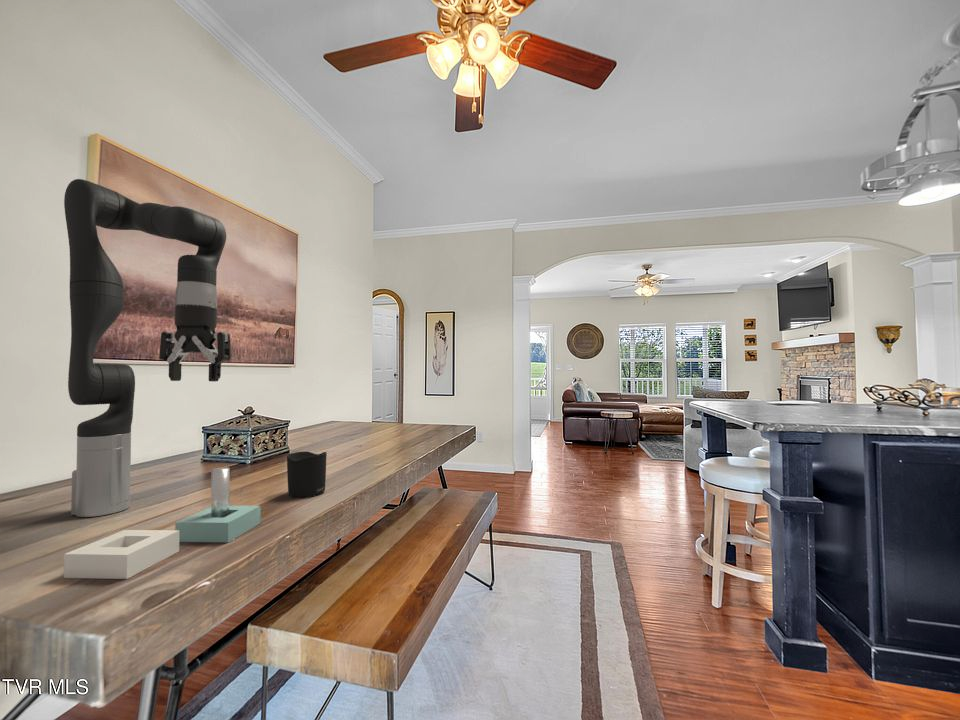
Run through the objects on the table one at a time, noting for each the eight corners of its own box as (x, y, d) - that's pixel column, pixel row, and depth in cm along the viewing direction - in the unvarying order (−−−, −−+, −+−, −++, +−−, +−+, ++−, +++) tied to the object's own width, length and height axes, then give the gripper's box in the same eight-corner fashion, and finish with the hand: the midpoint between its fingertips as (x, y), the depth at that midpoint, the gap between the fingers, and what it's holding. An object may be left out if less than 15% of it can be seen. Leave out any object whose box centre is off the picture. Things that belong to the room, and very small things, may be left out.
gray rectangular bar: (207, 534, 80) (207, 470, 81) (217, 529, 83) (218, 467, 84) (222, 535, 80) (222, 470, 81) (232, 529, 83) (233, 467, 84)
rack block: (175, 541, 77) (175, 522, 77) (213, 522, 87) (213, 505, 87) (228, 542, 76) (228, 522, 77) (260, 523, 86) (260, 505, 87)
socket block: (63, 577, 64) (64, 554, 64) (124, 550, 74) (124, 529, 74) (126, 578, 63) (127, 554, 63) (179, 551, 73) (179, 530, 73)
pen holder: (291, 501, 102) (291, 458, 102) (282, 492, 109) (283, 453, 110) (331, 494, 107) (331, 454, 108) (320, 486, 115) (320, 449, 115)
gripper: (150, 302, 88) (148, 381, 88) (216, 302, 87) (214, 382, 87) (178, 308, 96) (176, 380, 95) (239, 308, 95) (237, 381, 94)
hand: (194, 381), depth 91 cm, fingers open, 8 cm apart
